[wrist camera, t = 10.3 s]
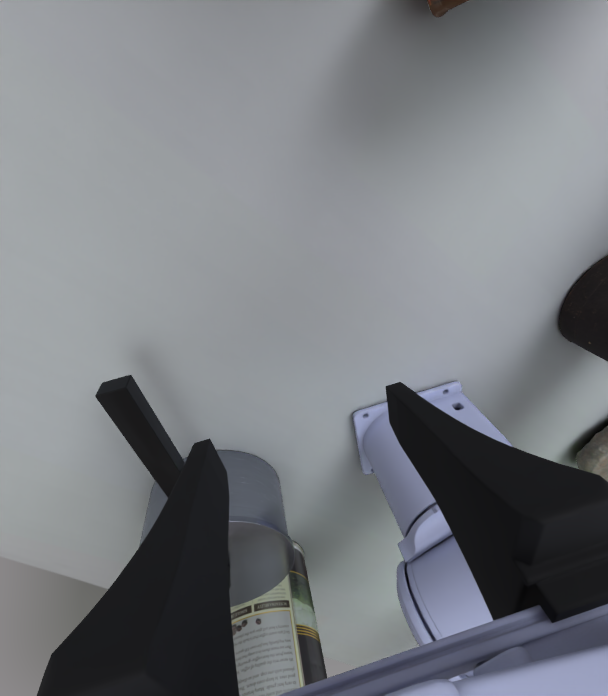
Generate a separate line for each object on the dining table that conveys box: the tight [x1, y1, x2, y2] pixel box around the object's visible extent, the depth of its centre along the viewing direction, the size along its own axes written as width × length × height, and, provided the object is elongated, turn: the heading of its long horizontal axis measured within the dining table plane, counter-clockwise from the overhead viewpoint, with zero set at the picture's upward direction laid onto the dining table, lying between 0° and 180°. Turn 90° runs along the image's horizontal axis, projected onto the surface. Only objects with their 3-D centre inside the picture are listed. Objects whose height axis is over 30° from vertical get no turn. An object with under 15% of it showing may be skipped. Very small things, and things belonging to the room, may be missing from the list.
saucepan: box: [96, 375, 295, 607], centre depth 24 cm, size 12×22×8 cm, turn 12°
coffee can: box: [230, 541, 327, 696], centre depth 31 cm, size 10×10×14 cm
